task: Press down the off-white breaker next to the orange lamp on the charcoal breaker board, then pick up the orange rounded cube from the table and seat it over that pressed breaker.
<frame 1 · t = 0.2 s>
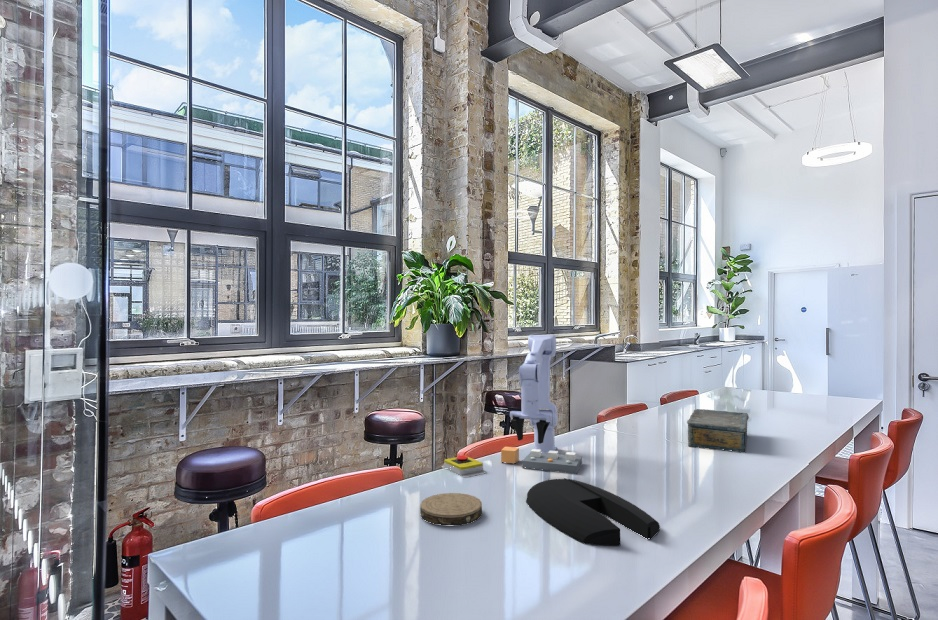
hand: (530, 441, 171), 10 cm above the table, tool pointing down, fingers open, 7 cm apart
emergency button: (463, 471, 173), on the table
wood slice: (451, 515, 135), on the table
orange rounded cube: (510, 461, 182), on the table
breaker board: (552, 465, 177), on the table
metal box: (718, 442, 210), on the table
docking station: (583, 514, 135), on the table
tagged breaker: (553, 456, 177), point 3 cm above the table, slide at 0.0 cm
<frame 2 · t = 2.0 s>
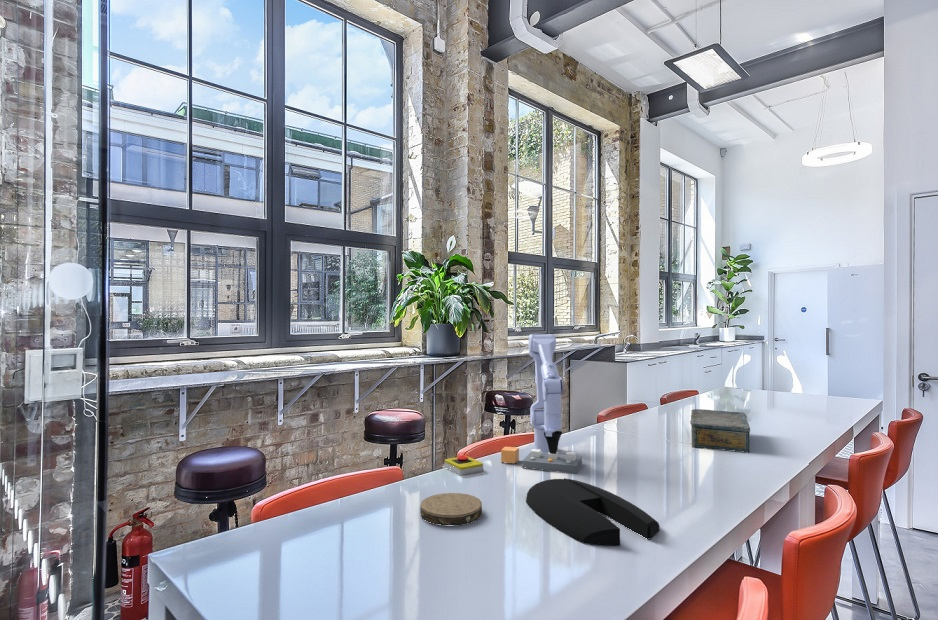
hand: (553, 453, 177), 4 cm above the table, tool pointing down, fingers closed, pressing on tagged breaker
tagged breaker: (553, 457, 177), point 3 cm above the table, slide at 0.4 cm, touching gripper
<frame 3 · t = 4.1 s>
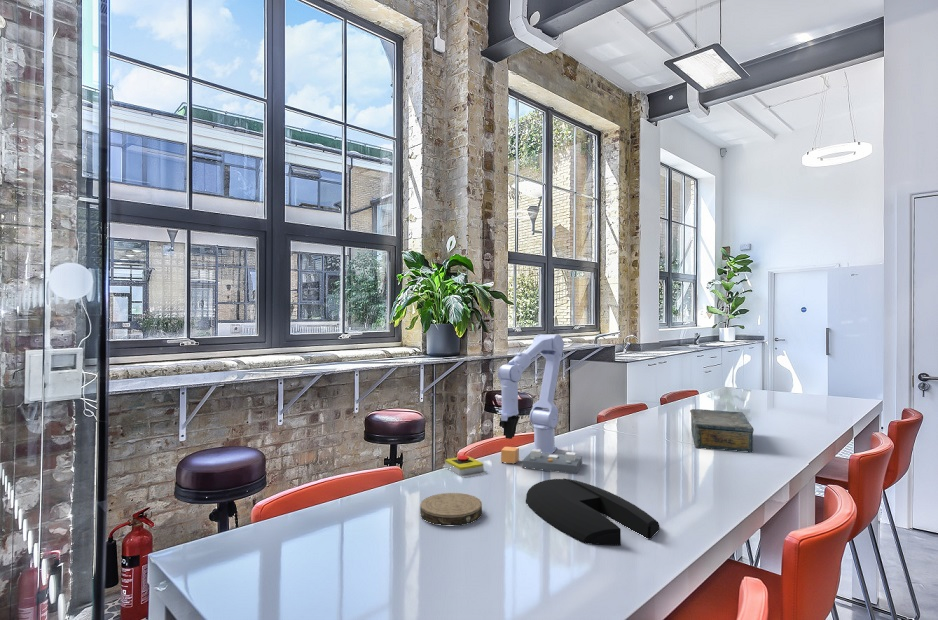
hand: (510, 437, 182), 8 cm above the table, tool pointing down, fingers closed
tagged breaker: (553, 460, 177), point 2 cm above the table, slide at 1.4 cm
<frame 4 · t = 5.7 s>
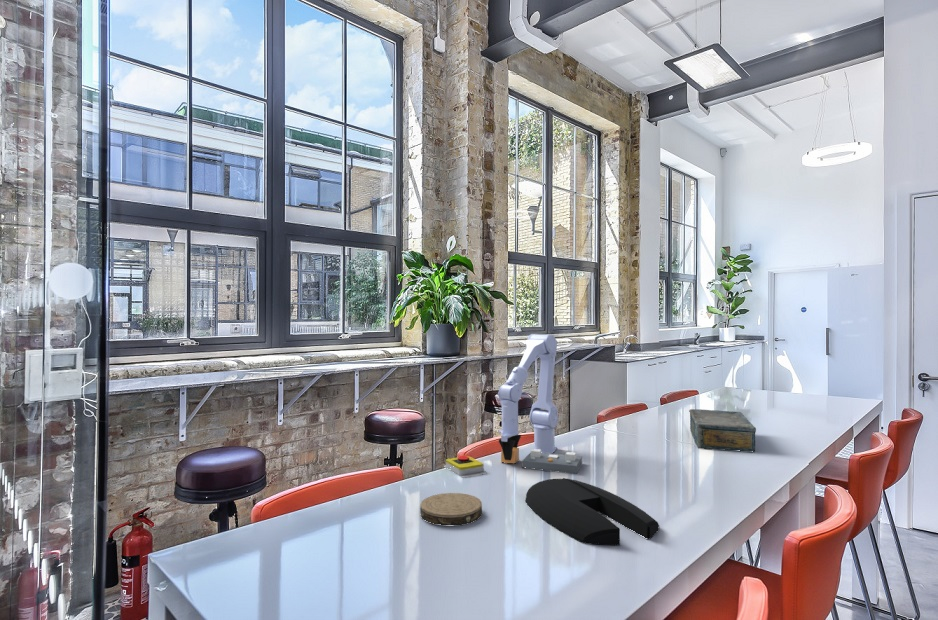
hand: (510, 457, 182), 1 cm above the table, tool pointing down, fingers closed on orange rounded cube, 5 cm apart
orange rounded cube: (510, 461, 182), on the table, touching gripper
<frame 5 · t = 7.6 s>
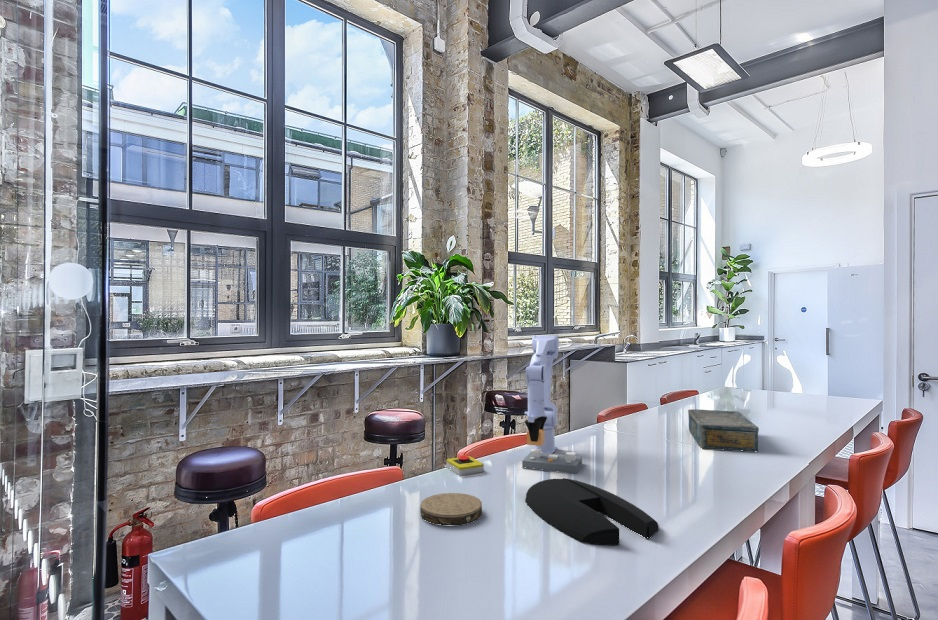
hand: (536, 439, 179), 8 cm above the table, tool pointing down, fingers closed on orange rounded cube, 5 cm apart
orange rounded cube: (535, 443, 179), point 7 cm above the table, touching gripper
when the fingers open (4 cm above the table, at t = 9.4 s): orange rounded cube stays where it is, resting on breaker board.
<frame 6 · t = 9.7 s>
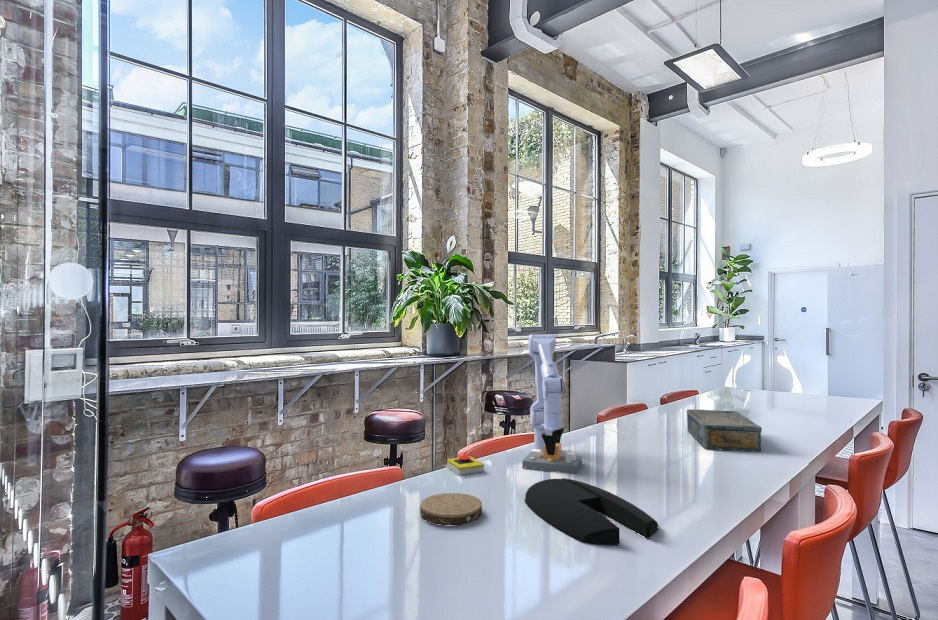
hand: (553, 452, 178), 4 cm above the table, tool pointing down, fingers open, 7 cm apart
orange rounded cube: (552, 457, 178), point 2 cm above the table, touching breaker board
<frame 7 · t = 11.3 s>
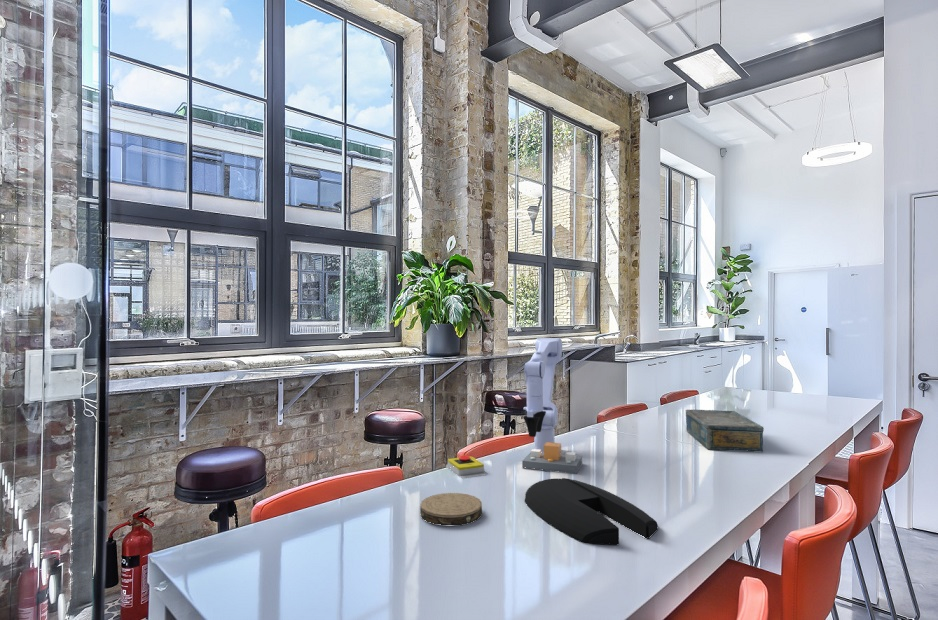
hand: (535, 434, 183), 9 cm above the table, tool pointing down, fingers open, 7 cm apart
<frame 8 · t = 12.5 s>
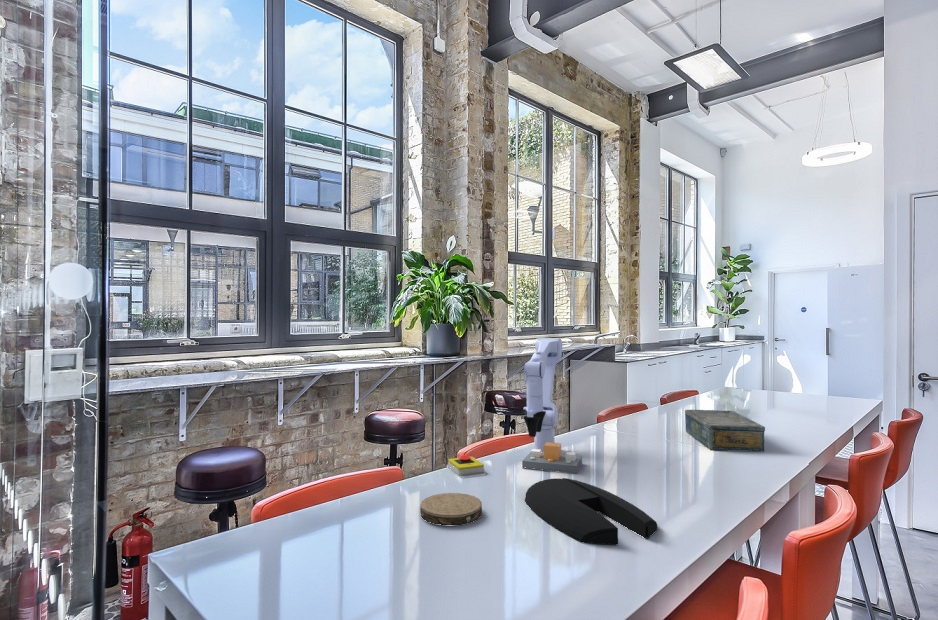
hand: (535, 434, 183), 9 cm above the table, tool pointing down, fingers open, 7 cm apart
at the end: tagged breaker slide at 1.4 cm; orange rounded cube 0.2 cm from the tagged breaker (horizontally); orange rounded cube point 2.5 cm above the table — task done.
